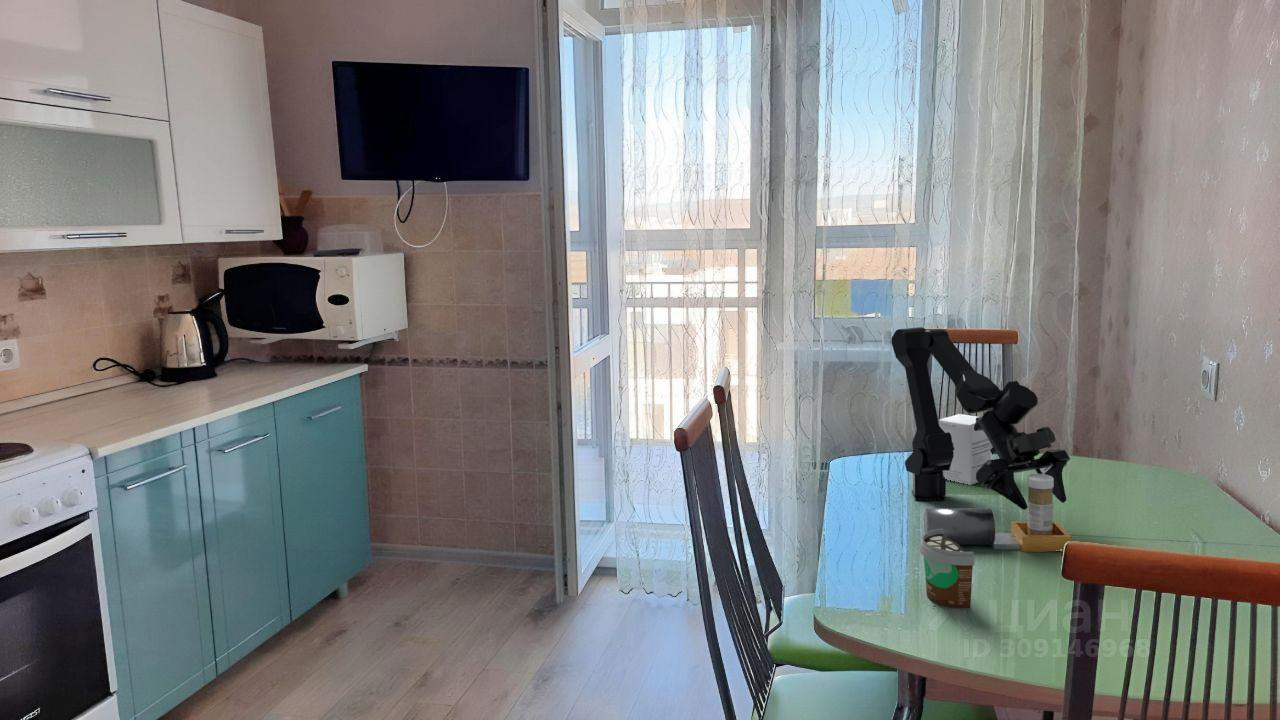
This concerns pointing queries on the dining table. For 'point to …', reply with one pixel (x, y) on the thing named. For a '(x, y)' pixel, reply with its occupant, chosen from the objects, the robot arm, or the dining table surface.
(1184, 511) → the dining table surface
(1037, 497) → the sprinkles bottle
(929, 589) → the food container
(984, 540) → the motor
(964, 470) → the supplement box
